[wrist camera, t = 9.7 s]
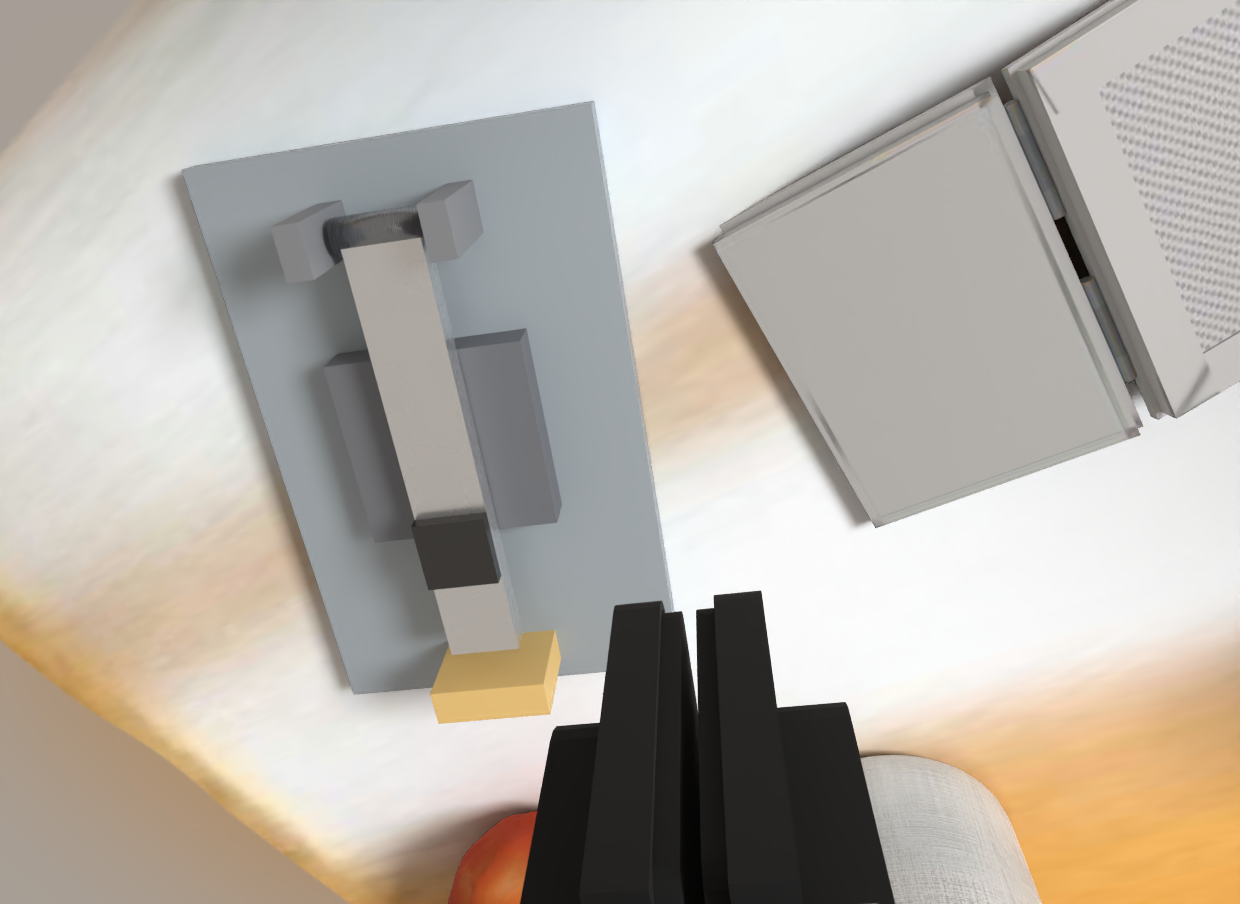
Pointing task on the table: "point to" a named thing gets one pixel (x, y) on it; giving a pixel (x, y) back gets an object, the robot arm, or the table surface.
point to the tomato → (496, 864)
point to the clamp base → (479, 295)
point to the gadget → (1015, 261)
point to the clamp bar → (430, 425)
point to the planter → (944, 835)
